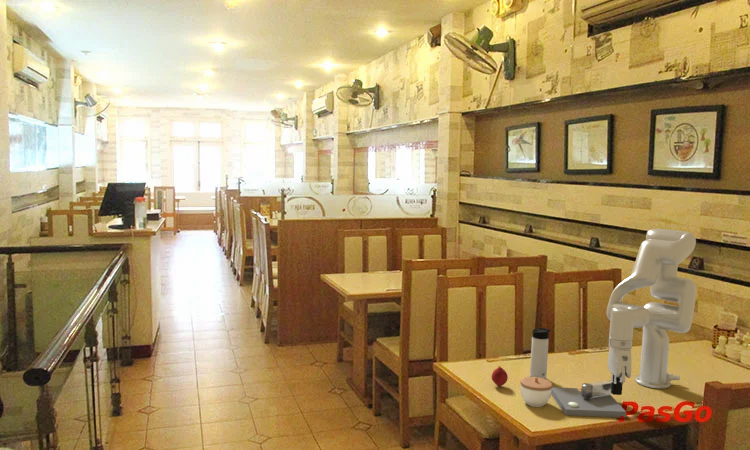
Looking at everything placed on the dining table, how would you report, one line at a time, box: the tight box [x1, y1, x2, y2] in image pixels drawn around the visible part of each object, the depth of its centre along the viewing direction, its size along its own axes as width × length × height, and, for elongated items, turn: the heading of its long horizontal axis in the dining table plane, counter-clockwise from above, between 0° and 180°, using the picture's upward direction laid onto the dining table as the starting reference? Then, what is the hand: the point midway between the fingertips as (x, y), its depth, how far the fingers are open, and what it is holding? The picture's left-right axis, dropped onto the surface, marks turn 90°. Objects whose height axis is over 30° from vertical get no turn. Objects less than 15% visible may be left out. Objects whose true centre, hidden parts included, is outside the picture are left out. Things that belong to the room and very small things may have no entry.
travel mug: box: [529, 327, 551, 380], centre depth 237 cm, size 6×7×20 cm
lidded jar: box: [520, 376, 553, 408], centre depth 213 cm, size 11×11×9 cm
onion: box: [491, 365, 509, 387], centre depth 228 cm, size 6×6×8 cm
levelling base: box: [551, 386, 627, 418], centre depth 214 cm, size 20×20×3 cm
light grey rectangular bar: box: [581, 379, 613, 399], centre depth 216 cm, size 15×4×5 cm, turn 112°
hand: (616, 393), depth 214 cm, fingers closed
